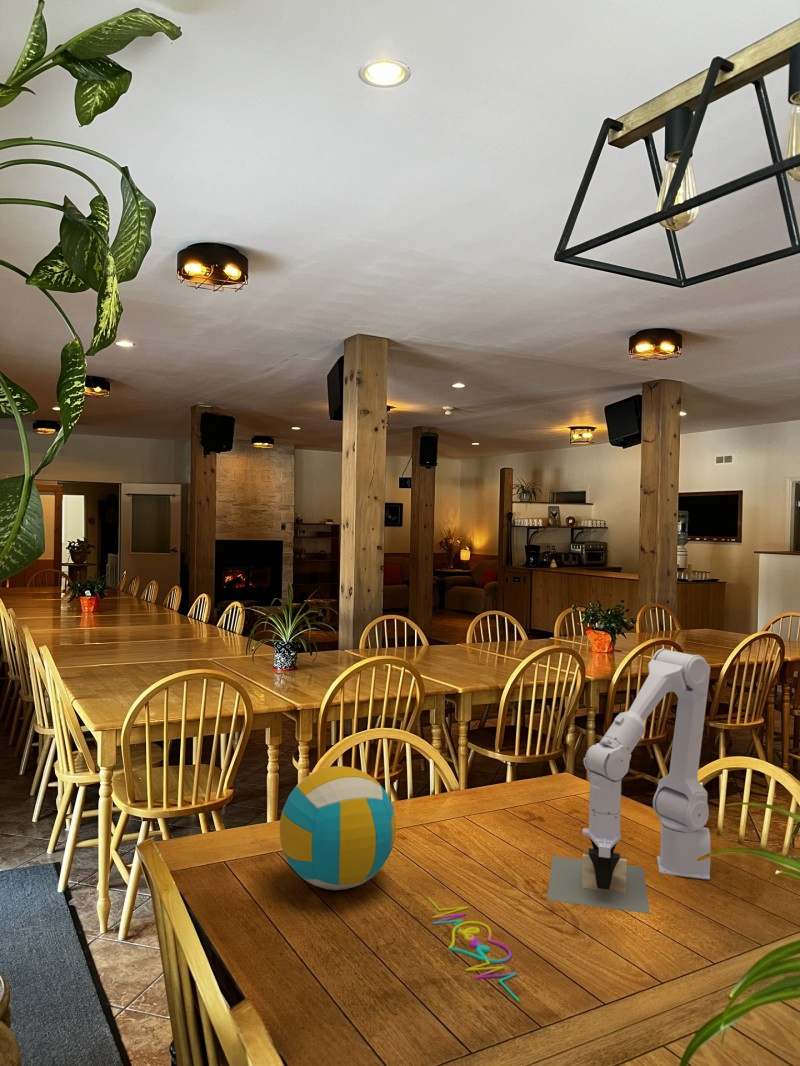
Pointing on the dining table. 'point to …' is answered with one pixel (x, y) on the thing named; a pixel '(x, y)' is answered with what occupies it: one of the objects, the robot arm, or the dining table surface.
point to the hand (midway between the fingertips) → (603, 880)
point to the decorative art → (475, 944)
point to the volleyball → (337, 828)
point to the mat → (569, 889)
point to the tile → (617, 878)
